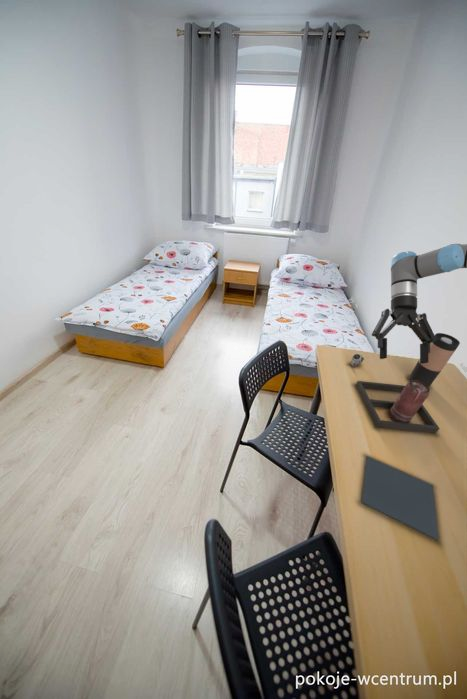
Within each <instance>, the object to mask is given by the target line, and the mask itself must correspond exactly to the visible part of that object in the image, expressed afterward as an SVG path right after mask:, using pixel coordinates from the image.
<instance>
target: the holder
mask: <svg viewBox="0 0 467 699" xmlns="http://www.w3.org/2000/svg"><path fill="white" fill-rule="evenodd" d="M405 386H406V385H403V384H394V383H384V382H383V383H382V382H374V381H373V382H372V381H366V380H357V382H356V384H355V388H356V391H357V392H358V394H359V397H360V398H361V401H362V402H363V405H364V407H365V409H366V411H367V413H368V415H369V417H370V420H371V421H372V424H373V426H374V428H376V429H385V430H392V431H393V430H395V431H405V432H415V433H424V434H434V435H435V434H437V432H439V430H440V429H441V428H440V427H439V426H438V423H436V422H435V420H434V419H433V417H432V416H431V414H430V413H429V410H427V408H426V407H425V406H424V403H423V404H422V405H421V406H420V408H419V409H418V411H417V413H418V414H419V416H420V417H421V419H422V420H423V422H424V423H425V424H421V423H410V422H409V423H402V422H394V421H393V420H392V421H390V420H384V419H383V420H381V418H380V417H379V414H378V412H377V411H376V409H375V408H380V409H389V410H390V409H391V408H392V406H393V405H394V403H395V401H394V400H393V401H392V400H384V399H372V398H370V397H369V395H368V393H367V391H366V389H367V390H375V391H384V392H385V391H386V392H394V393H401V392H402V390H403V389H404V387H405Z"/></svg>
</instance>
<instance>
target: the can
mask: <svg viewBox="0 0 467 699" xmlns="http://www.w3.org/2000/svg"><path fill="white" fill-rule="evenodd" d="M404 386H405V387H404V389H403V390H402V392H400V393H399V395H398V397H397V398H396V400H395V401H394V402H395V403H394V405H393V406H392V408H391V409H389V411H388V415H389V418H390V419H391V420H392V422H402V423H410V422H411V420H413V418H414V416H415V415H416V413H418V409H419V408H420V406H421V405H422V404H423V405H424V402H425V401H426V400H427V399H428V397H429V395H430V390H431V389H430V388H429V387H430V386H429V387H428V386H427V385H425V384H424V383H422V382H420V381H417V380H411V381H408V382H406V384H405V385H404Z"/></svg>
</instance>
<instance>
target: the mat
mask: <svg viewBox="0 0 467 699" xmlns="http://www.w3.org/2000/svg"><path fill="white" fill-rule="evenodd" d="M365 459H366V460H365V468H364V478H363V486H362V496H361V504H362V505H364V506H367V507H369V508H371V509H373V510H375V511H377V512H379V513H381V514H382V515H385V516H387V517H389V518H391V519H393V520H395V521H397V522H399V523H400V524H403V525H405V526H406V527H409V528H411V529H413V530H415V531H417V532H418V533H421V534H423V535H425V536H426V537H429V538H431V539H433V540H434V541H436V542H437V541H439V531H438V522H437V514H436V504H435V494H434V486H433V484H431V483H429V482H427V481H424V480H422V479H420V478H417V477H415V476H413V475H411V474H408V473H406V472H404V471H403V470H400V469H397V468H396V467H393V466H391V465H388V464H386V463H384V462H382V461H380V460H377V459H375V458H373V457H370V456H368V455H367V456H366V458H365Z"/></svg>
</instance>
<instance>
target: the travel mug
mask: <svg viewBox="0 0 467 699" xmlns="http://www.w3.org/2000/svg"><path fill="white" fill-rule="evenodd" d="M434 335H435V337H436V339H437V340H436V341H435V342H431V343H430V353H428V361H429V363H423V364H422V363H420V358H419V359H418V360H417V362H416V364H415V366H414V368H413V369H412V371H411V373H410V375H409V377H408V382H410V381H411V380H417V381H420V382H422V383H424V384H425V385H427V386H428V387H431V385H432V384H433V382H434V381H435V380H436V378H437V377H438V376H439V375H440V373H441V372H442V371H443V369H444V368H445V366H446V365H447V363H448V362H449V361H450V359H451V357H452V356H453V354H454V353H455V352H456V350H457V349H458V347H459V345H460V344H461V342H460V340H459V339H457V338H455V337H454V336H452V335H450V334H447V333H443V332H436V333H434Z"/></svg>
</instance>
